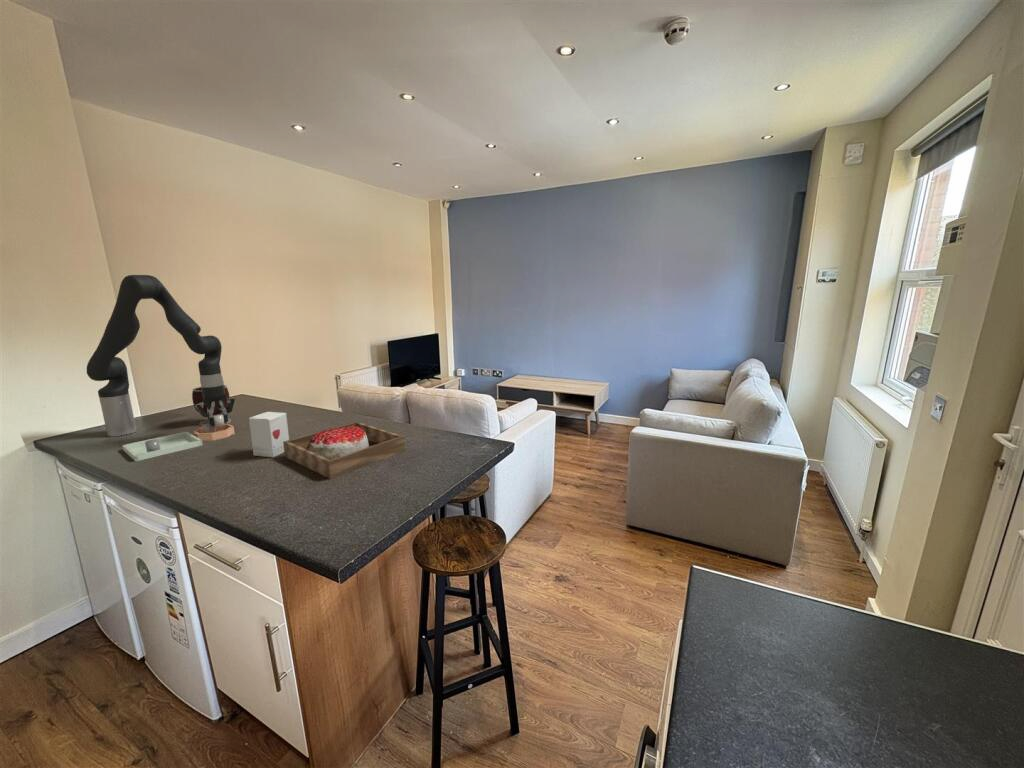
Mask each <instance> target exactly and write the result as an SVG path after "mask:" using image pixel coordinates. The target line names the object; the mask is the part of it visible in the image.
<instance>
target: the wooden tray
mask: <svg viewBox="0 0 1024 768" xmlns="http://www.w3.org/2000/svg"><path fill="white" fill-rule="evenodd" d="M348 426H356V427H360V428H361V429H362V430H363V431H365V433H366V436H367V439H368V442H372V443H376V444H373V445H370V446H368V447H367V448H364V449H361V450H358V451H355V452H352V453H350V454H347V455H344V456H341V457H338V458H335V459H332V460H329V459H327V458H325V457H322V456H320V455H318V454H316V453H313V452H311V451H309V450H307V446H308V444H309V442H310V440H311V439H312V438H313V437H314V435H315V434H317V433H318V432H321V431H322V430H321V431H317V432H313V433H310V434H306V435H303V436H300V437H299V436H298V437H295V438H291V439H289V440H287V441H284V442H283V445H284V452H283V453H284V457H285V458H286V459H289V460H290V461H293V462H295V463H297V464H299V465H301V466H303V467H305V468H307V469H309V470H311V471H313V472H315V473H318V474H319V475H322V476H323V477H325V478H328V479H329V480H332V479H335V478H337V477H339V476H342V475H345V474H349V473H350V472H353V471H355V470H359V469H361V468H363V467H366V466H369V465H372V464H375V463H377V462H381V461H382V460H385V459H388V458H391V457H393V456H395V455H398V454H401V453H403V452H406V444H405V436H404V435H401V434H398V433H394V432H392V431H388V430H384V429H381V428H379V427H375V426H372V425H368V424H366V423H362V422H360V421H359V422H358V421H354V422H351V423H347V424H343V425H340V426H339V425H338V426H335V427H334V428H343V427H348Z"/></svg>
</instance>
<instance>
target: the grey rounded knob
mask: <svg viewBox="0 0 1024 768" xmlns="http://www.w3.org/2000/svg"><path fill="white" fill-rule="evenodd" d="M148 440H149V439H148ZM145 445H146V450H147V452H151V451H156V450H160V444H159V440H149V441H146V442H145Z"/></svg>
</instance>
